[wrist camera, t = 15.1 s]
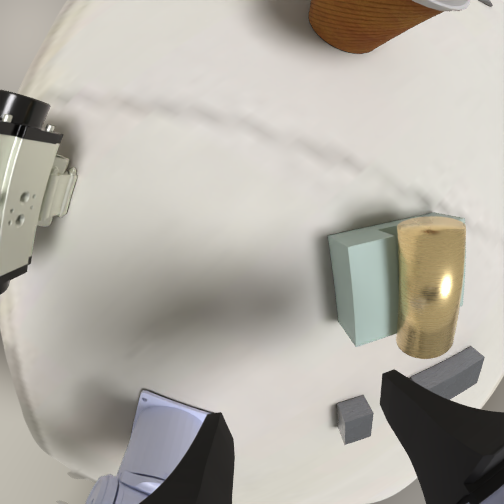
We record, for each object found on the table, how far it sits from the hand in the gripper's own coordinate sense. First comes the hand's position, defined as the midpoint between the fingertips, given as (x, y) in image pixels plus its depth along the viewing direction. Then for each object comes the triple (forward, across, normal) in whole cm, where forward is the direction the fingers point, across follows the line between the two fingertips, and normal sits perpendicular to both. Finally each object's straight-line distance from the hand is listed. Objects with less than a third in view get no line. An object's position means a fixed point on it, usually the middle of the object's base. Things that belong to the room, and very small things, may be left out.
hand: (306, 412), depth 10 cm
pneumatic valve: (+11, +15, -13) cm, 22 cm away
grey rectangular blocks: (+10, -13, +14) cm, 21 cm away
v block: (+10, -10, -2) cm, 14 cm away
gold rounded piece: (+5, -10, -2) cm, 11 cm away
